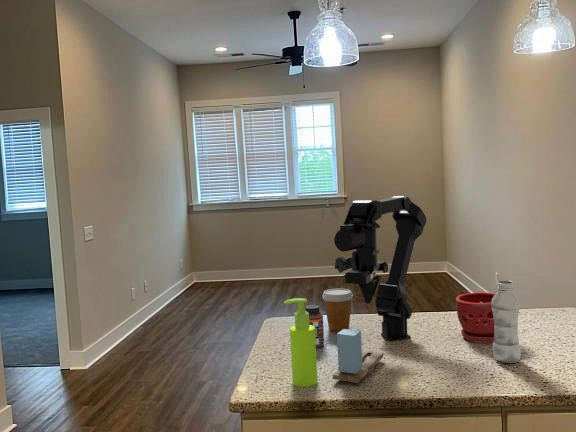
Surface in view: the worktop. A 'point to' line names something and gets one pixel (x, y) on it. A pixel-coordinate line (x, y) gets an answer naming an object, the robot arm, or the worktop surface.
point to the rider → (349, 351)
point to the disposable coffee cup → (338, 308)
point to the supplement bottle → (316, 323)
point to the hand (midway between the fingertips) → (368, 303)
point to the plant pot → (476, 316)
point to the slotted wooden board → (366, 367)
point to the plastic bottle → (505, 324)
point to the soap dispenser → (303, 347)
